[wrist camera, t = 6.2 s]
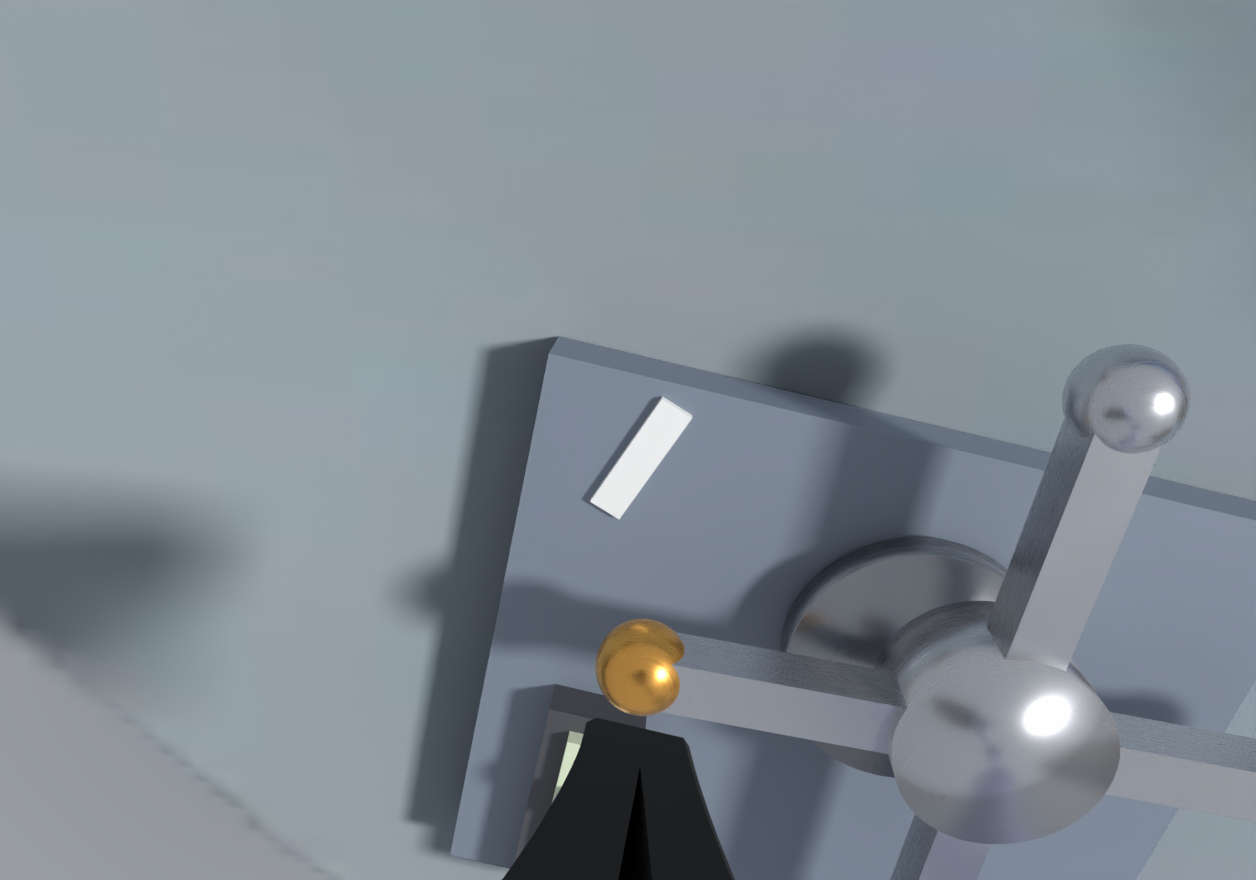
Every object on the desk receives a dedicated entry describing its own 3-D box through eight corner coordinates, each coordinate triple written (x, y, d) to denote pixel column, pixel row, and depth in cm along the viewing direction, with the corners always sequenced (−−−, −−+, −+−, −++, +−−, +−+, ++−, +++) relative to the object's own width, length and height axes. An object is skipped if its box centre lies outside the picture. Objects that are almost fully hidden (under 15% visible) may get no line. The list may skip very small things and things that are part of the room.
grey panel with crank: (1040, 958, 26) (1092, 1087, 23) (460, 826, 26) (425, 936, 23) (1295, 511, 21) (1416, 591, 17) (558, 336, 20) (531, 383, 17)
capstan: (1495, 389, 18) (1684, 455, 14) (1166, 968, 24) (1244, 1110, 20) (672, 239, 18) (668, 270, 14) (558, 856, 24) (536, 979, 20)
